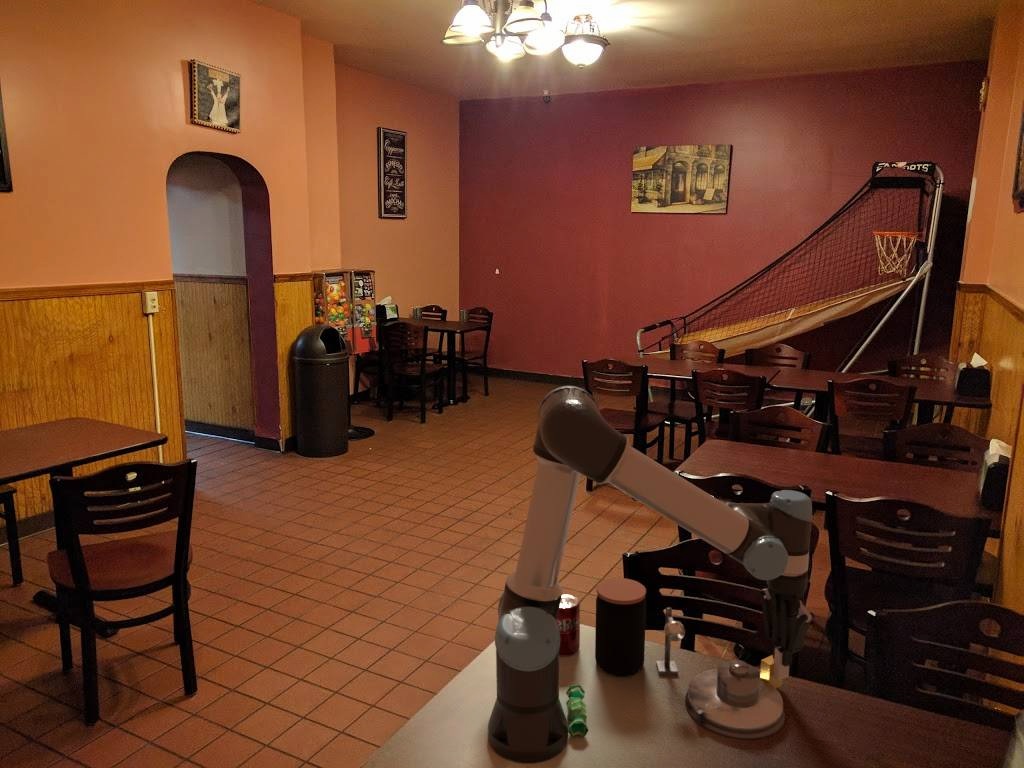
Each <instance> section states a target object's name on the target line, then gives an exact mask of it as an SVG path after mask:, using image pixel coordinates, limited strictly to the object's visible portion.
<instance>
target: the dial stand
mask: <svg viewBox="0 0 1024 768" xmlns="http://www.w3.org/2000/svg"><path fill="white" fill-rule="evenodd" d="M672 612H673V609H672V607H670V606H668V607H667V606H666V608H665V625H664V627H663V628H664V629H663V630H664V634H665V635H664V636H665V637H664V655H663V656H664V659H663V660H655V666H656V669H657V673H658V676H675V677H676V676H679V670H678V667H677V664H676V661H675V660H671V648H672V647H671V645H672V644H671V643H672V642H678V641H679V642H680V641H681V640H683V639H684V637H685V635H686V629H685V627H684V624H682V622H681V621H679V620H674V618H673V613H672Z"/></svg>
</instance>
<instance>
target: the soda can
mask: <svg viewBox="0 0 1024 768" xmlns="http://www.w3.org/2000/svg"><path fill="white" fill-rule="evenodd" d="M579 600H580V599H578V598H577V597H576V596H575V595H572V594H569V593H562V597H561V602H560V607H559V611H558V616H557V624H558V628H559V633H560V647H559V658H569V657H572V656H575V655H576V654H577V653H578V652H579V650H580V646H581V645H580V644H581V643H580V640H581V603H580V601H579Z"/></svg>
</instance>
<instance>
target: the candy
mask: <svg viewBox="0 0 1024 768" xmlns="http://www.w3.org/2000/svg"><path fill="white" fill-rule="evenodd" d="M565 695H567V698H568V699H569V700H568V703H567V705H566V707H567V708H566V709H567V718H568V719H569V721H570V722H571V723H570V724H568V735H570V736H571V738H574V737H575V736H576V735H580V736H581V737H582V738H585V737H586V736H587V734H588V732H589V728H588V727H587V725H586V723H585V722H586V720H587V718H588V716H587V705H586V704H585V702H584V701H583V699H584V698H585V690H584V689H583V687H582V686H581V684H580V685H579V684H578V685H576V684H575V685H570V686H569V688H568V690H566V693H565Z"/></svg>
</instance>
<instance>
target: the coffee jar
mask: <svg viewBox="0 0 1024 768" xmlns="http://www.w3.org/2000/svg"><path fill="white" fill-rule="evenodd" d="M596 585H597V586H596V593H597V596H596V598H595V638H594V639H595V641H594V643H595V647H594V653H595V654H594V655H595V656H594V659H595V662H596V665H598V668H599V669H600V670H601V671H602V672H603V673H606V674H607V675H609V676H611V677H612V676H613V677H618V678H627V677H631V676H634V675H637V673H639V672H640V670H641V669H642V668H643V666H644V664H645V652H646V651H645V647H646V645H645V643H646V642H645V641H646V615H647V614H646V611H647V609H646V607H647V600H646V594H647V588H646V587H645V585H643V584H642V583H640V582H639V581H636V580H635V579H634V580H633V579H630V578H626V577H625V578H624V577H614V578H613V577H611V578H608V579H607V578H606V579H604V580H602V581H600V582H599V583H597V584H596Z"/></svg>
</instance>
